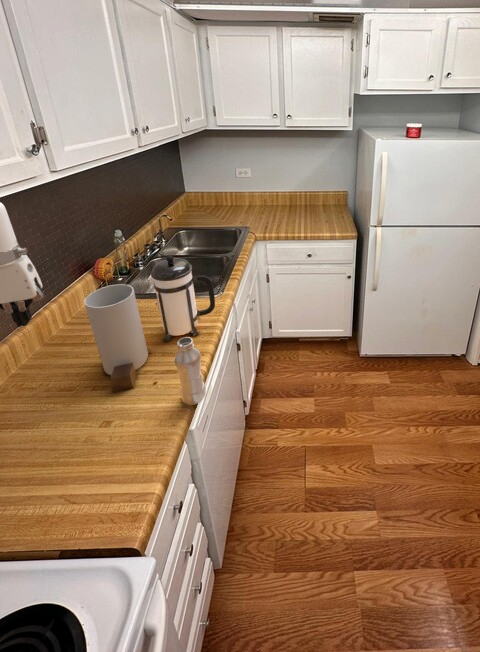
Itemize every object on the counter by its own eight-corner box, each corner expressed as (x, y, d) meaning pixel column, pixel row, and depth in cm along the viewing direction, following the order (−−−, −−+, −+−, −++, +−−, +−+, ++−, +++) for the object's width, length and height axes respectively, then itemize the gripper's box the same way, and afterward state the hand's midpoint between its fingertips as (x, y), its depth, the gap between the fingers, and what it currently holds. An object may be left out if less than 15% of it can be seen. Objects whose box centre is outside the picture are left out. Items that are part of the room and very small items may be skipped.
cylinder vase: (129, 344, 113) (113, 281, 104) (157, 354, 109) (143, 288, 100) (94, 370, 102) (73, 302, 93) (124, 382, 98) (105, 311, 89)
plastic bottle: (188, 388, 96) (178, 332, 89) (210, 390, 96) (202, 334, 88) (177, 407, 90) (165, 349, 83) (201, 409, 90) (191, 351, 82)
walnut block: (113, 392, 95) (110, 379, 93) (117, 379, 99) (114, 366, 97) (133, 388, 96) (129, 375, 94) (136, 375, 101) (132, 362, 99)
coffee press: (179, 350, 111) (165, 271, 100) (150, 333, 119) (134, 258, 108) (219, 323, 125) (210, 251, 114) (190, 309, 132) (180, 241, 121)
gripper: (45, 245, 80) (65, 308, 87) (-34, 253, 75) (-6, 320, 82) (32, 258, 74) (55, 325, 80) (-55, 268, 69) (-23, 339, 75)
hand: (24, 323), depth 81 cm, fingers closed
